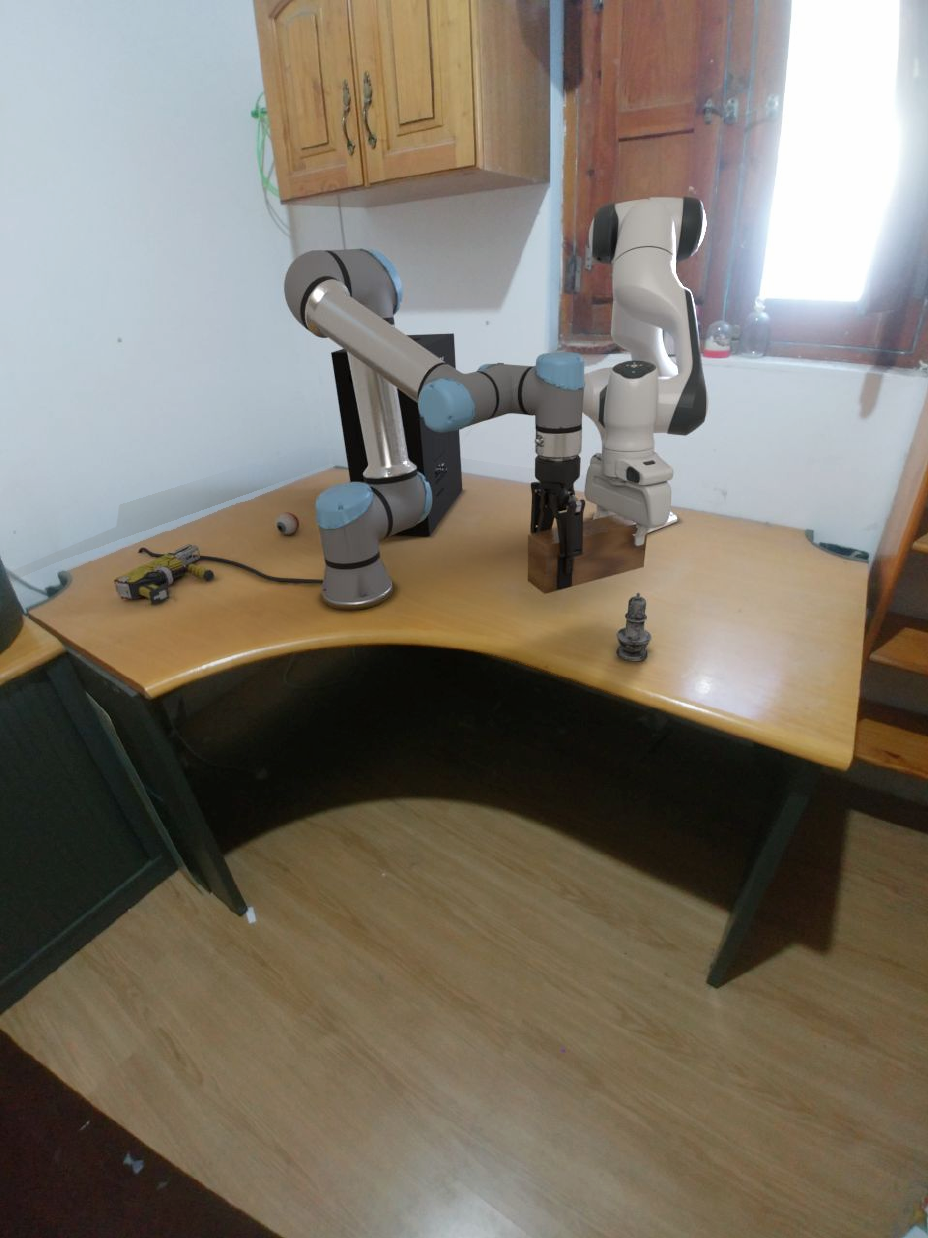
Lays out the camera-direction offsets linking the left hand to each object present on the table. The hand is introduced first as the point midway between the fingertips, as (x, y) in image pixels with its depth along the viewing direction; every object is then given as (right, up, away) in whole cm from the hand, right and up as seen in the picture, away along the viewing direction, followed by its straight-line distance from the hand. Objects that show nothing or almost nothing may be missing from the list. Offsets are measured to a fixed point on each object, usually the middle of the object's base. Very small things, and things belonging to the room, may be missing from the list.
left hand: (554, 580), depth 111 cm
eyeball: (-65, +16, +54) cm, 86 cm away
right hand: (+13, +8, +2) cm, 15 cm away
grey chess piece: (+13, -13, -4) cm, 19 cm away
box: (+6, +1, +3) cm, 7 cm away
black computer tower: (-31, +25, +66) cm, 77 cm away
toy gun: (-84, +1, +31) cm, 89 cm away
